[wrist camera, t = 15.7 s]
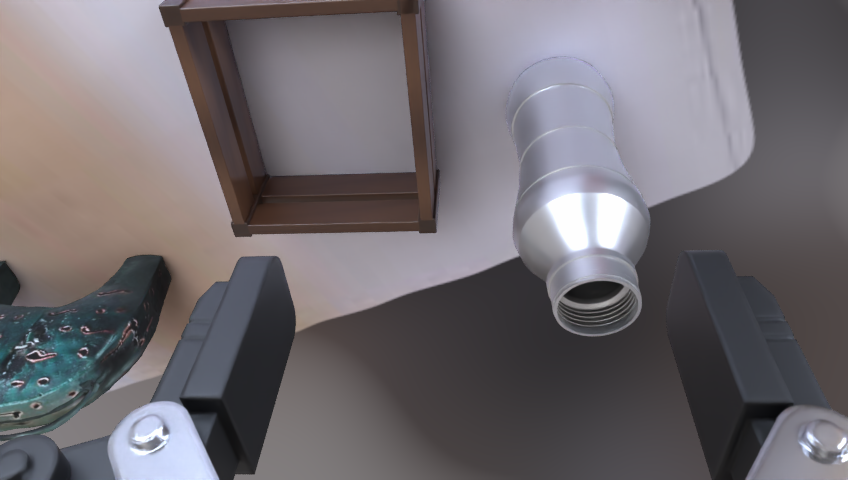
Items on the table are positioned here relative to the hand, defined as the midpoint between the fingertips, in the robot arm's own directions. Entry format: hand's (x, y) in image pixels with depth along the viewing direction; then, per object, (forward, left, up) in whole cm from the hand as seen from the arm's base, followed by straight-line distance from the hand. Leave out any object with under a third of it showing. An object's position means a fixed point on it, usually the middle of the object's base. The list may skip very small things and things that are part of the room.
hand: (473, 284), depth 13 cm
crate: (+10, -10, -30) cm, 33 cm away
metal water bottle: (+11, +5, -30) cm, 33 cm away
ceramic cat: (+26, -36, -30) cm, 54 cm away
